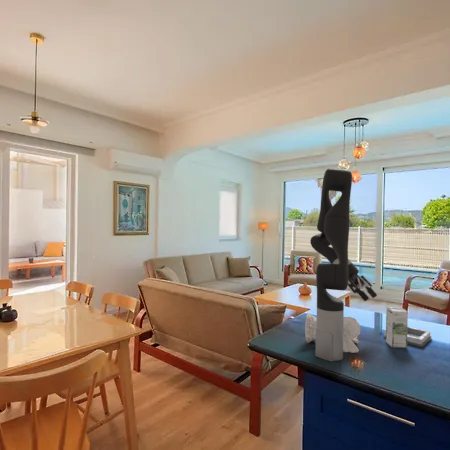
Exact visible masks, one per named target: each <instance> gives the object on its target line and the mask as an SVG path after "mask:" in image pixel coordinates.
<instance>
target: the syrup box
mask: <svg viewBox="0 0 450 450" xmlns="http://www.w3.org/2000/svg"><path fill="white" fill-rule="evenodd" d="M385 309H386V310H385V313H386V317H385V330H386V338H385V343H387V344H388V346H390V347H391V348H394V349H395V348H398V349H407V348H408V344H407V327H408V324H409V322H408V319H409V312H408V311H407V310H406V309H405V308H402V307H391V306H390V307H386V308H385Z"/></svg>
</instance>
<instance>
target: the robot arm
mask: <svg viewBox="0 0 450 450" xmlns="http://www.w3.org/2000/svg"><path fill="white" fill-rule="evenodd" d="M352 181H353V174H352V171H351V170H349V169H342V168H341V169H340V168H331V167H330V168H327V169H326V170H325V171H324V174H323V178H322V185H321V186H322V187H321V195H320V209H319V215H318V220H317V224H316V229H317V231H318V232H320V233H318V234H315V235H312V236H311V238H310V240H309V242H310V245H311V247H312V249H313V250H315V251H316V252H317V253H318V254H320V255H321V256H322V257H324V258H325V259H327V260H328V262H329V263H326V262H325V263H319V264H318V265H317V267H316V269H315V270H316V271H315V273H316V275H315V277H316V318H317V330H316V339H315V350H314V351H315V357H317V358H319V359H322V360H325V361H327V362H336V361H341V360H343V359H344V352H343V319H344V317H345V314H344V307H345V305H344V304H345V303H344V301H343V300H342V299H341V298H338V297H336V296H333V295H332V294H330V293H329V292H328V291H327V290H332V291H345V290H347V289H348V288H349V289H350V290H351V291H352V293H354V294H357V295H359V297H360V298H361V299H362V300H363V301H364V302H367V301H369V299H370V297H371V298H372V299H375V298H376V297H377V296H378V294H377V293H376V291H374V289H373V288H372V287H373V284H371V282H370V281H369V280H368V279H367V278H366V277H365V276H364V275H363V274H362V275H359V273H360V270H359V269H358V268H357V266H355V264H354V263H353V262H352V261H351V260H350V259H349V238H350V237H349V236H350V207H351V206H350V203H351V192H352V186H353V185H352V183H353V182H352ZM330 191H331V192H340V193H341V195H340V197H339V198H338V200H337V201H336V202H335V203H334V204H332V202H331V198H330ZM363 289H364V290H365V291H366V292H367V293H368V294H369V295H370V297H369V296H368V295H367V293H365V291H364V290H363Z"/></svg>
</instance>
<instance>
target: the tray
mask: <svg viewBox="0 0 450 450" xmlns="http://www.w3.org/2000/svg"><path fill="white" fill-rule="evenodd" d="M383 339H386V329H385V330H384V334H383ZM431 340H432V336H431V331H429V330H424V329H421V328H415V327H410V326H407V345H411V346H413V347H418V348H423V347H425V346H426V344H428V342H429V341H431Z"/></svg>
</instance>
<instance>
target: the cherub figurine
mask: <svg viewBox="0 0 450 450" xmlns="http://www.w3.org/2000/svg"><path fill="white" fill-rule="evenodd" d="M316 330H317V316H314V315H313V314H311V313H307V315H306V317H305V324H304V334H305V340H306V342H307V343H308V344H309V343H311V342H313V341H314V340H316ZM360 334H361V325H360V323H359V322H358V320H357V319H356V318H355V317H351V316H344V319H343V353H353V354H355V353H359V351H360V349H359V348H358V347H357V345H356V344H359V340H358V339H356V338H357V337H358V336H359V335H360Z"/></svg>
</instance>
